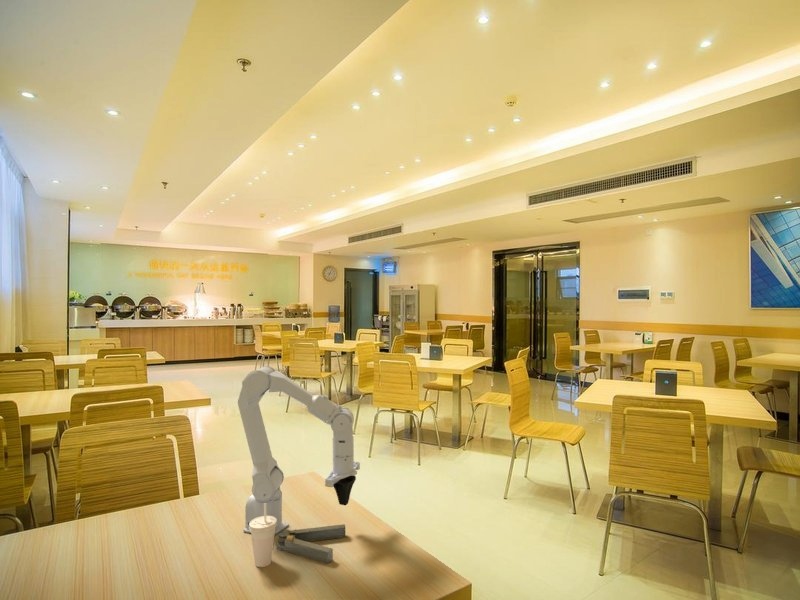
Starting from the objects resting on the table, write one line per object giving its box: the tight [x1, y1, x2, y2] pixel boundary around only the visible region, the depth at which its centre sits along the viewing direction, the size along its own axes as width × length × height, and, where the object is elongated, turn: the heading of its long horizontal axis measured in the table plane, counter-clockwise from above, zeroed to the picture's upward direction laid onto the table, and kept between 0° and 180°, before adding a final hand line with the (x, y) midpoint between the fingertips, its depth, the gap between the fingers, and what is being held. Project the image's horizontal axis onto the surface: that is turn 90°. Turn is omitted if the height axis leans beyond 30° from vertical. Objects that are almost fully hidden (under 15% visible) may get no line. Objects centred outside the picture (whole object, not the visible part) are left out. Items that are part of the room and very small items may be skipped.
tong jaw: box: [278, 523, 346, 542], centre depth 116 cm, size 17×3×3 cm, turn 103°
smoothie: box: [249, 503, 277, 568], centre depth 106 cm, size 6×6×14 cm
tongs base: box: [276, 535, 334, 565], centre depth 110 cm, size 17×5×4 cm, turn 65°
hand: (343, 503), depth 122 cm, fingers closed
